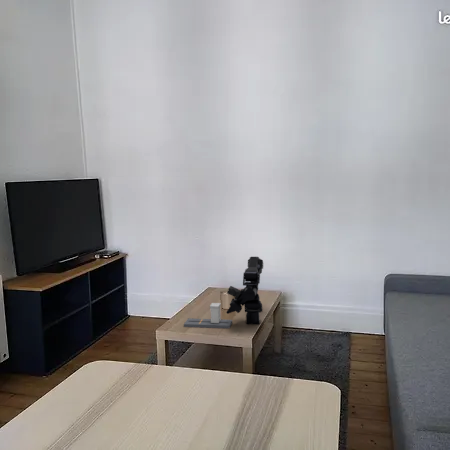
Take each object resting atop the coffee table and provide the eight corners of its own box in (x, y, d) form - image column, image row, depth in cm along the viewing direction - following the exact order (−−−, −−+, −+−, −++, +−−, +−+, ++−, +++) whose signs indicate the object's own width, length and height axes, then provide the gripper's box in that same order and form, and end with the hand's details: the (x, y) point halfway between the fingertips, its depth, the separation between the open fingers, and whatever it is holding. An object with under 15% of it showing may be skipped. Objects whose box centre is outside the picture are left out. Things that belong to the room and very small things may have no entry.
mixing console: (232, 322, 243) (232, 319, 243) (229, 328, 234) (229, 325, 234) (188, 321, 247) (188, 318, 247) (183, 326, 239) (183, 323, 238)
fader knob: (221, 319, 242) (220, 303, 241) (219, 323, 237) (218, 306, 236) (212, 319, 243) (211, 302, 242) (210, 323, 238) (209, 306, 236)
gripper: (239, 277, 244) (219, 296, 248) (233, 286, 226) (212, 307, 229) (254, 291, 244) (234, 311, 247) (249, 302, 226) (228, 323, 229)
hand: (226, 312), depth 238 cm, fingers closed
